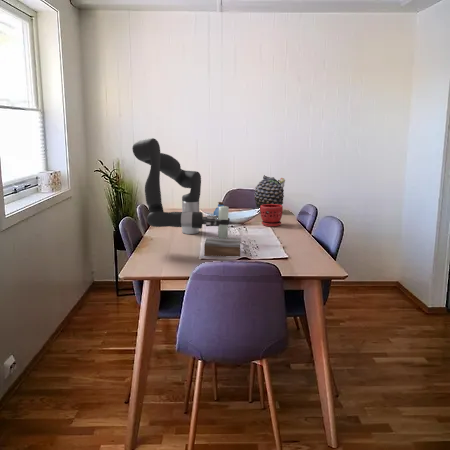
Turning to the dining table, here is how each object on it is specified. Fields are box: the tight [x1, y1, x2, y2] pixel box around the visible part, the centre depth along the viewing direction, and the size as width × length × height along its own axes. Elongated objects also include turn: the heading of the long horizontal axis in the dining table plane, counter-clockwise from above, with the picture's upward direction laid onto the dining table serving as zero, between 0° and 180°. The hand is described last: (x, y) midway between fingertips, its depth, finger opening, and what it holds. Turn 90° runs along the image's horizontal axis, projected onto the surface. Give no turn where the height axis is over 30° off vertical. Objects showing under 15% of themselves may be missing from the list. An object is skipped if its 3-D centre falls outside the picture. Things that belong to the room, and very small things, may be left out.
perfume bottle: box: [213, 201, 225, 216], centre depth 284 cm, size 6×6×12 cm
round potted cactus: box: [253, 174, 286, 213], centre depth 317 cm, size 21×15×25 cm
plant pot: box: [259, 204, 284, 227], centre depth 279 cm, size 13×13×12 cm
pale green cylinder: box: [217, 205, 229, 238], centre depth 215 cm, size 4×4×14 cm
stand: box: [203, 237, 241, 257], centre depth 217 cm, size 12×16×6 cm
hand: (229, 221), depth 215 cm, fingers closed on pale green cylinder, 4 cm apart
